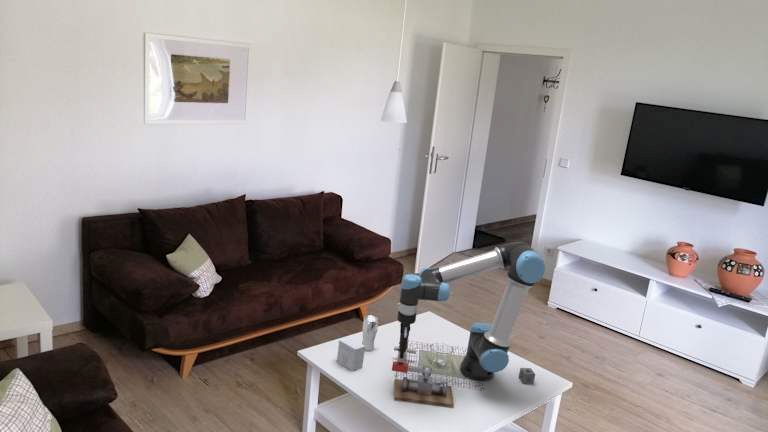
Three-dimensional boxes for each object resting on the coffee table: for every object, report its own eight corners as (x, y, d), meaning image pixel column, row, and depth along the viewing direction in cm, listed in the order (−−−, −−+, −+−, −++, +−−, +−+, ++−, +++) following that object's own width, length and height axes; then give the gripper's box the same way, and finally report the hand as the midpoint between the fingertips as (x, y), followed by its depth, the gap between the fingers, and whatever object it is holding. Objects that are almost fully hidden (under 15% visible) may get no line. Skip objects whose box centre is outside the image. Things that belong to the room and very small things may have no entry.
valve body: (444, 391, 256) (447, 374, 254) (445, 398, 251) (448, 381, 249) (401, 386, 256) (404, 368, 254) (401, 393, 251) (404, 375, 249)
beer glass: (360, 343, 290) (364, 314, 286) (375, 345, 290) (379, 316, 286) (359, 350, 283) (363, 320, 279) (374, 352, 283) (378, 322, 279)
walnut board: (450, 388, 260) (451, 385, 260) (453, 407, 247) (453, 404, 247) (394, 381, 260) (394, 378, 260) (394, 400, 247) (394, 396, 246)
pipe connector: (415, 356, 284) (418, 336, 281) (413, 367, 275) (417, 346, 272) (393, 352, 285) (396, 333, 282) (391, 363, 275) (394, 343, 273)
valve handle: (392, 367, 254) (393, 360, 253) (430, 372, 253) (431, 366, 252) (391, 371, 250) (392, 364, 249) (430, 377, 249) (431, 370, 249)
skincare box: (363, 367, 269) (365, 345, 266) (352, 371, 264) (355, 349, 261) (346, 357, 276) (349, 336, 273) (336, 361, 271) (338, 339, 268)
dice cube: (522, 383, 272) (524, 373, 271) (518, 377, 277) (520, 368, 276) (533, 384, 273) (535, 374, 272) (528, 377, 278) (530, 368, 277)
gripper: (397, 304, 256) (391, 355, 262) (398, 317, 244) (391, 370, 250) (415, 306, 256) (408, 357, 263) (417, 319, 244) (409, 372, 250)
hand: (400, 363), depth 256 cm, fingers closed
